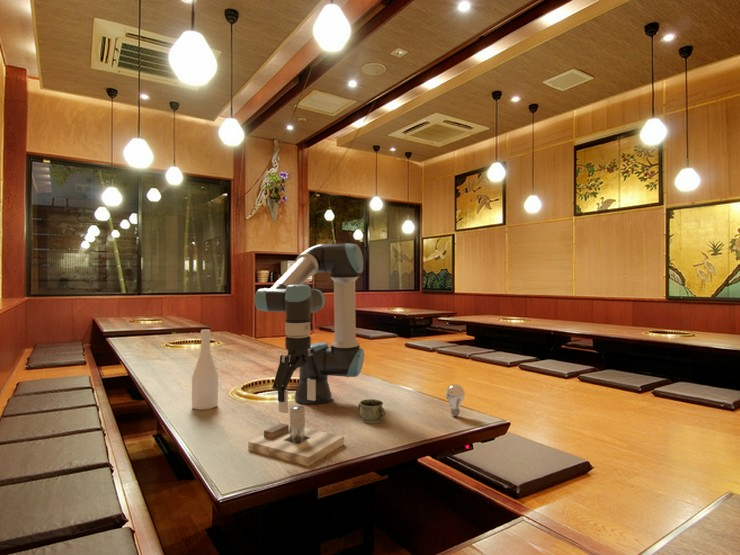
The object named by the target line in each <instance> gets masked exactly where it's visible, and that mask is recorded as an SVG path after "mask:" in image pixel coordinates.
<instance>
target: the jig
mask: <svg viewBox="0 0 740 555" xmlns="http://www.w3.org/2000/svg"><path fill="white" fill-rule="evenodd" d="M344 438H345V435H344V436H343V435H340V434H335V433H331V432H325V431H321V430H317V429H313V428H312V429H311V428H307V427H305V441H304V442H302V443H300V444H296V443H292V442H290V423H282V422H280V423H278V424H276V425H274V426H271V427H269V428H267V429H264V431H263V434H261V435H260V436H258V437H255V438H253V439H250V440H249V441H248V445H247V447H248V448H247V451H251V452H254V453H258V454H262V455H266V456H269V457H273V458H276V459H281V460H285V461H287V462H291V463H295V464H299V465H302V466H307V467H310V466H311V465H313V464H314V463H316V462H318V461H319V460H321V459H323V458H325V457H326V456H327V455H329V454H330V453H333V452H334V451H335V450H338V449H339V448H340V447H342V446H343V444H344V445H345V441H344V440H345V439H344Z"/></svg>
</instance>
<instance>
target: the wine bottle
mask: <svg viewBox="0 0 740 555" xmlns="http://www.w3.org/2000/svg"><path fill="white" fill-rule="evenodd" d="M218 403H219V373H218V370H217V368H216V365H215V362H214V359H213V356H212V353H211V330H210V329H201V330H200V353H199V356H198V359H197V361H196V365H195V368H194V370H193V373H192V377H191V407H192V409H193V410H198V411H204V410H205V411H206V410H210V409H214V408H216V407H217V406H218V405H219V404H218Z"/></svg>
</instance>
